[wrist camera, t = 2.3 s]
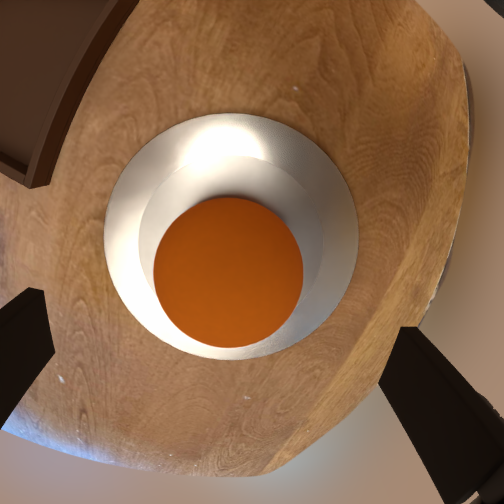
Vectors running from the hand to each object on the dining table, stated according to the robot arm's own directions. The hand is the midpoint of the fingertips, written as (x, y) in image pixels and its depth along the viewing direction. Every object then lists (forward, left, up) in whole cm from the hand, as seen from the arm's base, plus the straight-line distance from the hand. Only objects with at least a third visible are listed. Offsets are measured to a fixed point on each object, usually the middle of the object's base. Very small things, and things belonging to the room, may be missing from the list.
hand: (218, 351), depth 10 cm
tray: (+21, -14, -12) cm, 28 cm away
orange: (0, 0, -7) cm, 7 cm away
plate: (0, 0, -12) cm, 12 cm away
